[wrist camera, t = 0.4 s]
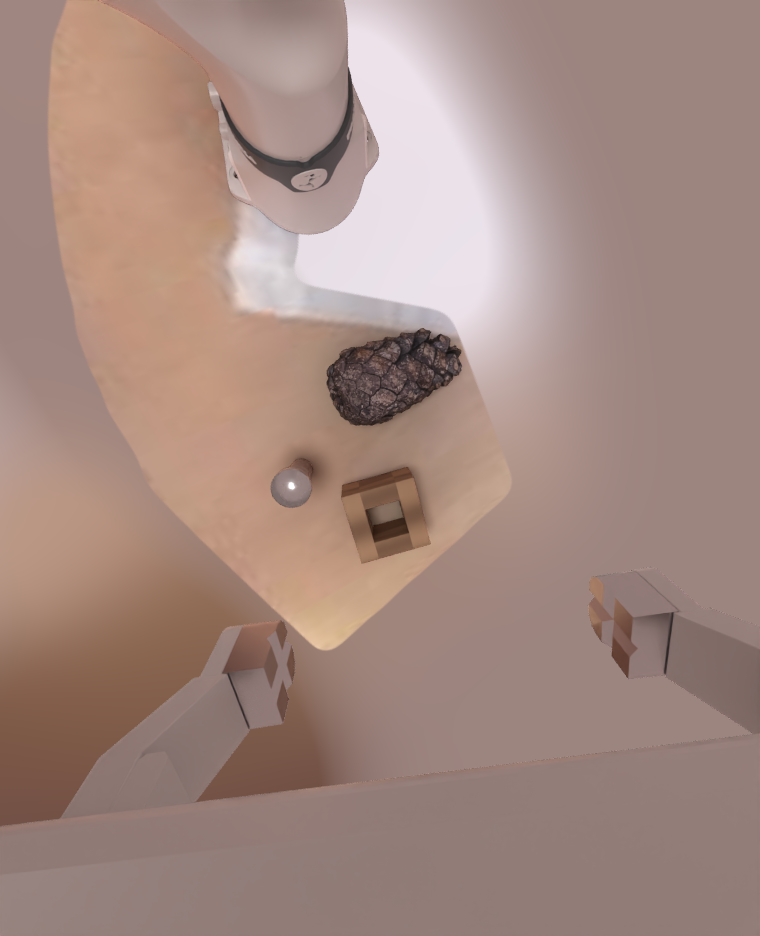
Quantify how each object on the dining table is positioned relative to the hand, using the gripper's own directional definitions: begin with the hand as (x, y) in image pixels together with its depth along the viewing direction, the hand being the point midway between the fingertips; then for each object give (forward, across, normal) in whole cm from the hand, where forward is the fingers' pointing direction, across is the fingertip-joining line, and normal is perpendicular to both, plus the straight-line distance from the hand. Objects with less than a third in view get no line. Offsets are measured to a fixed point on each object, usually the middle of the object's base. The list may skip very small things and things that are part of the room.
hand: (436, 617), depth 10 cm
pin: (+45, +14, +10) cm, 48 cm away
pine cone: (+48, -1, -1) cm, 48 cm away
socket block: (+45, +3, +18) cm, 49 cm away
